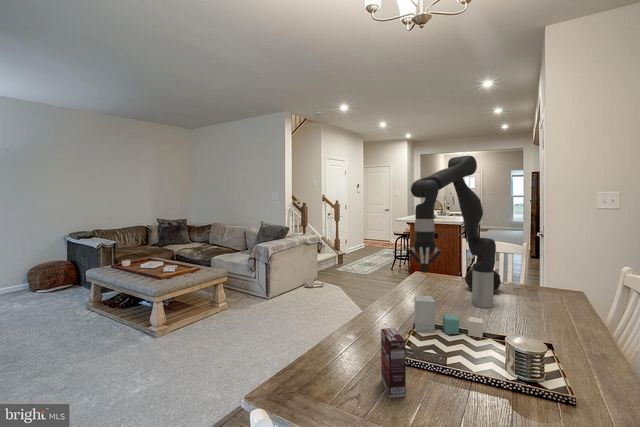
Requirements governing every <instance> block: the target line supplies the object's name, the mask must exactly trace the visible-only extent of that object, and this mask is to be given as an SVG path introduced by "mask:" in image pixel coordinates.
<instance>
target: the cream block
mask: <svg viewBox="0 0 640 427" xmlns="http://www.w3.org/2000/svg"><path fill="white" fill-rule="evenodd" d="M467 321H468V322H467V326H468V327H467V331H468V332H467V336H468V335H470V336H478V337H484V336H483V335H484V318H481V317H474V316H468V320H467ZM470 336H469V337H470Z"/></svg>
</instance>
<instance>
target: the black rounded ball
mask: <svg viewBox="0 0 640 427" xmlns="http://www.w3.org/2000/svg"><path fill="white" fill-rule="evenodd" d="M482 260H483V257H481V256H476V261H475V263H480V262H482ZM464 280H465V283H466V285H467V286H468V288H469V289H470V290H472V283H473V268H472V269H470V270H468V271H467V272H466V273H465V276H464ZM501 282H502V281H501V275H500V274H499V273H498V272H497V271H496V270H494V281H493V293H494V292H496V291H497V290H498V289H499V288H500V286H501Z"/></svg>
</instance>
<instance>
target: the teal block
mask: <svg viewBox="0 0 640 427" xmlns="http://www.w3.org/2000/svg"><path fill="white" fill-rule="evenodd" d="M443 329H444V330H443ZM442 330H443V332H444V334H445V335H451V334H459V335H460V319H459V318H458V317H457V315H456V314H455V315H454V314H442Z"/></svg>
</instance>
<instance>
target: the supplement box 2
mask: <svg viewBox="0 0 640 427" xmlns="http://www.w3.org/2000/svg"><path fill="white" fill-rule="evenodd" d="M414 328H415V332H418V333H419V332H421V333H432V334H433V333H435V332H436V330H435V329H436V301H435V299H434V296H430V295H429V296H428V295H414Z"/></svg>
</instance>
